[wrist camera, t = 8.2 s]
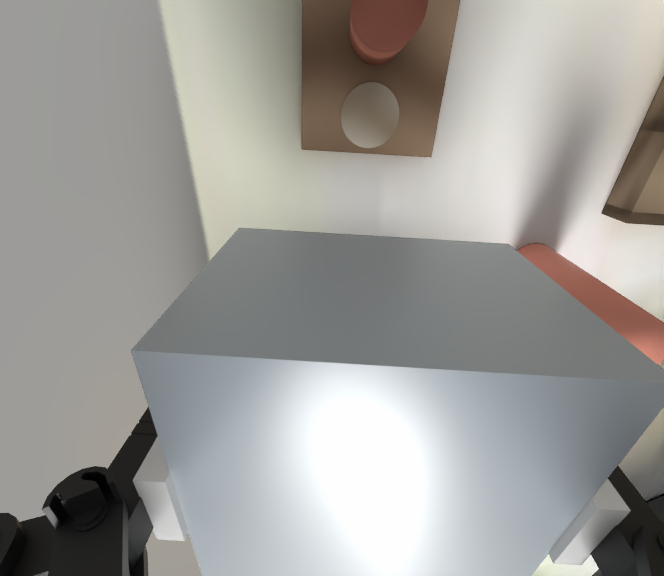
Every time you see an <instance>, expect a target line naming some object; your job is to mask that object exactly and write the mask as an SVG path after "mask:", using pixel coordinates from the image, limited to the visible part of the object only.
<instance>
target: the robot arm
mask: <svg viewBox="0 0 664 576" xmlns="http://www.w3.org/2000/svg"><path fill="white" fill-rule="evenodd" d="M42 510H43V512H44V513H45V516H41V517H37V518H34V519H29V520H26V521H22V522H19V521H18V520H17V518H16V517H14V516H13V515H11V514H9V513H0V576H148V558H147V550H146V546H145V545H146V543H147V541H148V538H149V536H150V534H151V532H152V530H153V531H154V533H155V535H156V538H157V539H164V540H180V541H185V538H186V536H187V533H188V528H187V525H186V522H185V519H184V515H183V512H182V509H181V506H180V503H179V500H178V496H177V493H176V490H175V487H174V484H173V481H172V477H171V474H170V472H169V470H168V467H167V463H166V460H165V457H164V454H163V451H162V448H161V444H160V441H159V438H158V435H157V432H156V429H155V425H154V422H153V419H152V416H151V413H150V410H149V407H148V408H147V410H146V411H145V413H144V414H143V416H142V417H141V419H140V420H139V423H138V424H137V425H136V426H135V428H134V430H133V431H132V434H131V436H129V437H128V439H127V440H126V442H125V443H124V445H123V446H122V448H121V449H120V451H119V453H118V454H117V455H116V457H115V459H114V460H113V462H112V463H111V465H110V466H109V468H108V469H107V468H105V467H97V466H94V467H90V468H85V469H82V470H80V471H78V472H75V473H73V474H71V475H70V476H68V477H67V478H65V479H64V480H63V481H62V482H60V483H59V484H58V485H57V486H56V487H55V488H54V489H53V491H52V492H51V493H50V494H49V495H48V496H47V499H46V501H45V503H44V505H43V508H42ZM549 555H550V557H551V559H552V562H553V563H555V564H571V565H582V564H583V563H584V561H585V560H586V559H587V558H588V557H589V556H590V555H592V557H593V559H594V560H595V562H596V564H597V566H598V568H599V569H598V570H597V571H596V572H595V573H594V574H593V575H592V576H664V496H662V497H659V498H657V499H654V500H652V501H650V502H648V503H646V501H645V500H644V499H643V497H642V496H641V495H640V494H639V492H638V491H637V490H636V488H635V487H634V486H633V485H632V483H631V482H630V481H629V479H628V478H627V477H626V475H625V474H624V473H623V472H622V470H621V469H620V468H619V466H617V467H616V468H615V469H614V471H613V472H612V473H611V475H610V476H609V477H608V478H607V480H606V481H605V482H604V483H603V485H602V486H601V487H600V489H599V490H598V491H597V492H596V494H595V495H594V496H593V497H592V498H591V499H590V501H589V502H588V503H587V504H586V506H585V507H584V508H583V510H582V511H581V512H580V513H579V515H578V516H577V517H576V519H575V520H574V521H573V522H572V524H571V525H570V526H569V528H568V529H567V530H566V531H565V533H564V534H563V535H562V536H561V538H560V539H559V540H558V542H557V543H556V544H555V545H554V547H553V548H552V549H551V551H550V552H549Z"/></svg>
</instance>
